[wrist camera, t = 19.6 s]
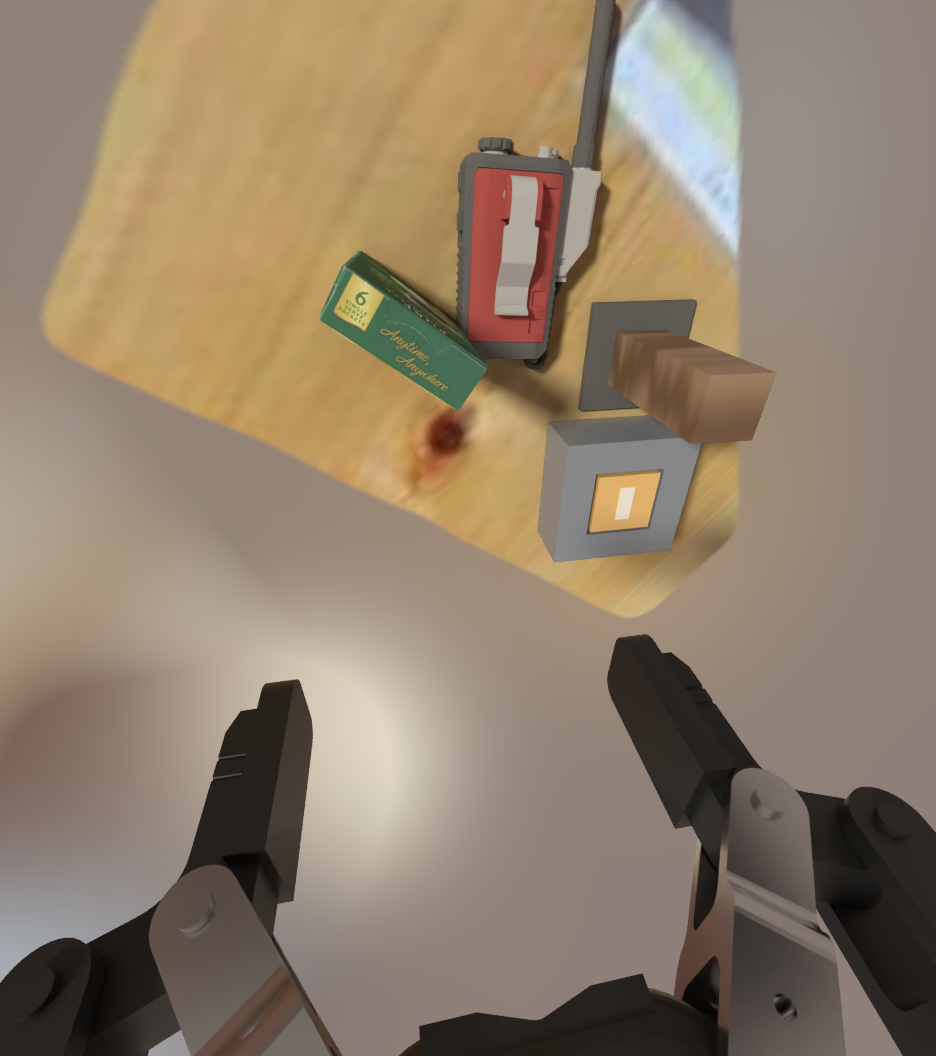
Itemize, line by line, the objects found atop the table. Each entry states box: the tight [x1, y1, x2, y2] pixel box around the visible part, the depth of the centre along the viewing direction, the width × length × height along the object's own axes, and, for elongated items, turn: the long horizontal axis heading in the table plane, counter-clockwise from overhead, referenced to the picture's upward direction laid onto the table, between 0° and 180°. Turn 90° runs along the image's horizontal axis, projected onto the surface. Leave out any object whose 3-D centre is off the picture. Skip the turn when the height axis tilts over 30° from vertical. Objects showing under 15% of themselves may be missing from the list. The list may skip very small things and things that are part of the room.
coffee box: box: [319, 251, 488, 411], centre depth 27 cm, size 8×3×13 cm, turn 54°
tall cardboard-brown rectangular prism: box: [608, 330, 776, 444], centre depth 32 cm, size 4×4×12 cm
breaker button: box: [588, 469, 661, 532], centre depth 40 cm, size 5×5×4 cm
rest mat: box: [578, 299, 696, 411], centre depth 37 cm, size 8×8×1 cm
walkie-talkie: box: [456, 0, 616, 370], centre depth 29 cm, size 9×4×20 cm
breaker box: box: [538, 415, 702, 562], centre depth 41 cm, size 11×11×5 cm
